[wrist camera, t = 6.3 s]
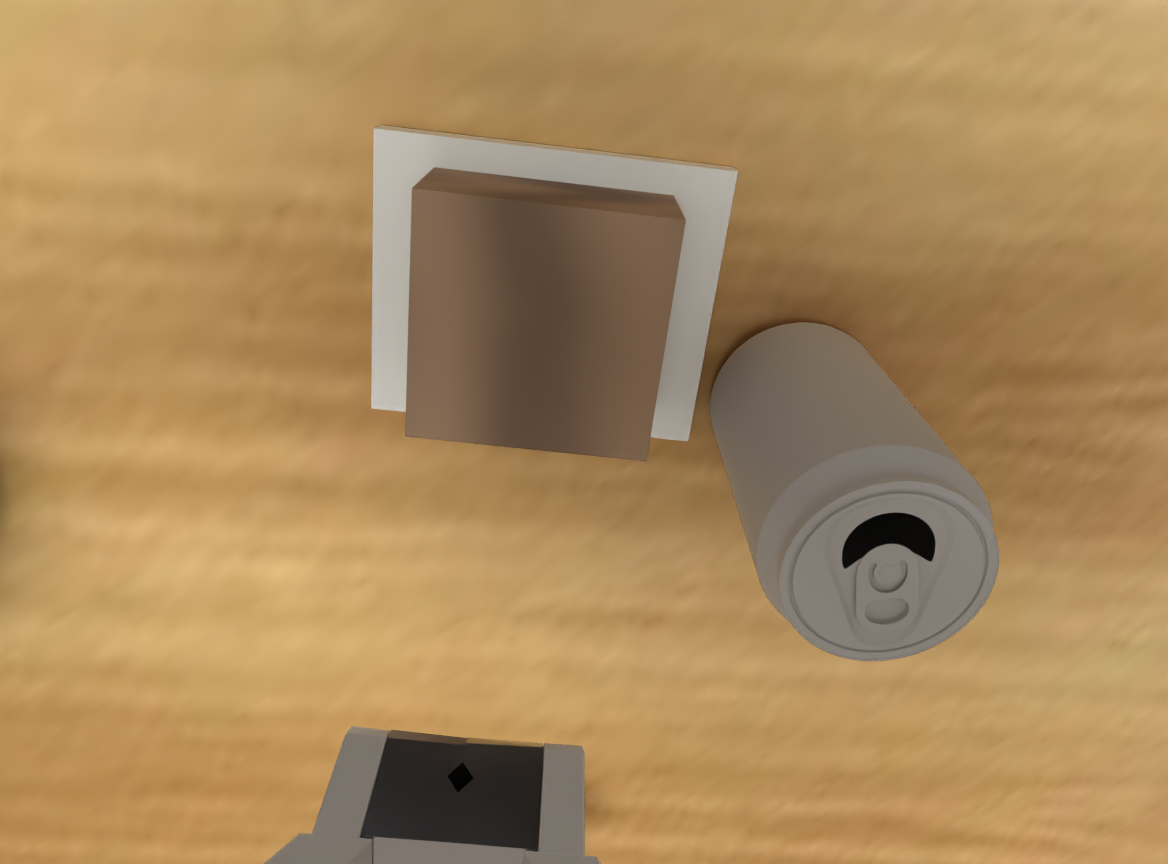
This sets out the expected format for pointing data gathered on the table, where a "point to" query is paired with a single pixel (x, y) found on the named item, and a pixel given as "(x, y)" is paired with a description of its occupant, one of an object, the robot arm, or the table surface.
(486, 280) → the walnut block
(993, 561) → the beverage can
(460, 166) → the base board
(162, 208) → the table surface
